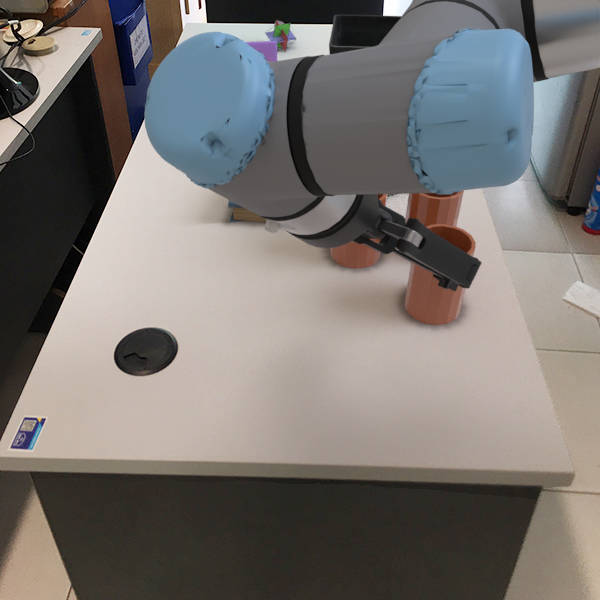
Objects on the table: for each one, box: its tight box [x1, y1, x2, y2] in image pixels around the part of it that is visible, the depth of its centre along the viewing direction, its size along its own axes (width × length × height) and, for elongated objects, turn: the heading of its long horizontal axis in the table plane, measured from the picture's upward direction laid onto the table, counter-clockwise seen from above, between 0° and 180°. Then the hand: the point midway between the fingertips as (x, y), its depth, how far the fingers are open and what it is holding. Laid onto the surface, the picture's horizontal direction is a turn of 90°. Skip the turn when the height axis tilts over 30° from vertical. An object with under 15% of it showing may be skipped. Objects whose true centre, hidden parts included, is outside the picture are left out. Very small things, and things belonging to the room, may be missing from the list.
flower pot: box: [328, 14, 402, 55], centre depth 126 cm, size 19×19×17 cm
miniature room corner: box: [245, 40, 278, 62], centre depth 142 cm, size 12×12×7 cm
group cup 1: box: [329, 194, 388, 270], centre depth 91 cm, size 7×7×12 cm
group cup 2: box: [404, 190, 465, 227], centre depth 92 cm, size 7×7×12 cm
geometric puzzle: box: [264, 19, 297, 53], centre depth 156 cm, size 7×7×8 cm
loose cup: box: [404, 224, 476, 326], centre depth 82 cm, size 7×7×12 cm
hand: (397, 251), depth 64 cm, fingers open, 13 cm apart
